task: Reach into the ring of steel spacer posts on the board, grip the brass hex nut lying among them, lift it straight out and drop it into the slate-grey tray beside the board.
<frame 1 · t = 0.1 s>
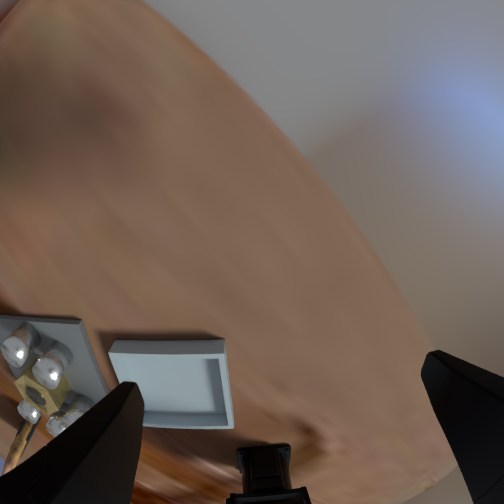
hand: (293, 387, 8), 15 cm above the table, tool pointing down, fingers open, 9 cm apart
spacer board: (52, 371, 25), on the table
ammunition clip: (31, 423, 28), on the table
spacer posts: (41, 386, 22), on the spacer board, point 3 cm above the table
brass nut: (49, 375, 24), point 1 cm above the table, touching spacer board
tray: (177, 382, 25), on the table
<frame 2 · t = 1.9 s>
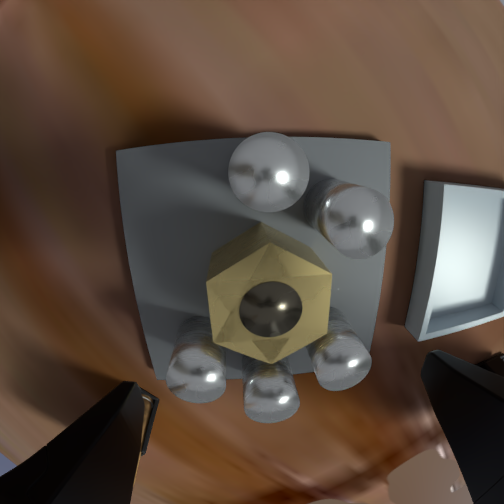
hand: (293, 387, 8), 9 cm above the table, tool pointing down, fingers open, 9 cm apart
spacer board: (261, 270, 16), on the table
ammunition clip: (120, 418, 20), on the table
spacer posts: (266, 293, 13), on the spacer board, point 3 cm above the table
brass nut: (262, 276, 15), point 1 cm above the table, touching spacer board
tray: (467, 254, 17), on the table
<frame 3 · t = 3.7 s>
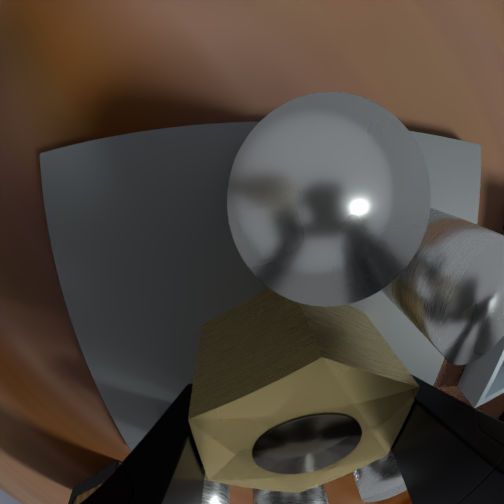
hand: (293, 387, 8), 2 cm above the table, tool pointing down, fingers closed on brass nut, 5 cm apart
spacer board: (281, 344, 10), on the table
ammunition clip: (102, 481, 13), on the table
spacer posts: (296, 402, 7), on the spacer board, point 3 cm above the table
brass nut: (285, 358, 9), point 1 cm above the table, touching gripper, spacer board
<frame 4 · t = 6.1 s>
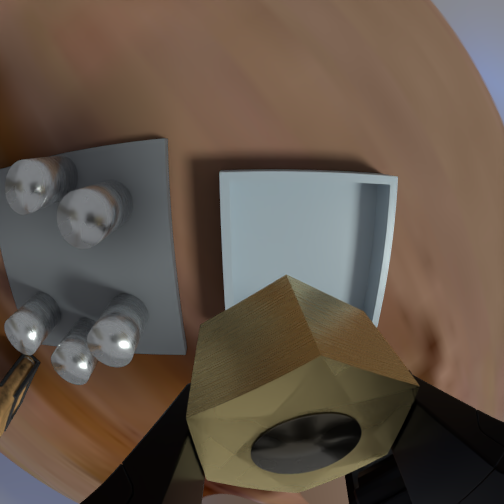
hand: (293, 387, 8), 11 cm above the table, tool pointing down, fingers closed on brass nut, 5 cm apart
spacer board: (77, 258, 17), on the table
ammunition clip: (23, 378, 21), on the table
spacer posts: (57, 274, 15), on the spacer board, point 3 cm above the table
brass nut: (284, 357, 9), point 10 cm above the table, touching gripper
tray: (304, 251, 18), on the table
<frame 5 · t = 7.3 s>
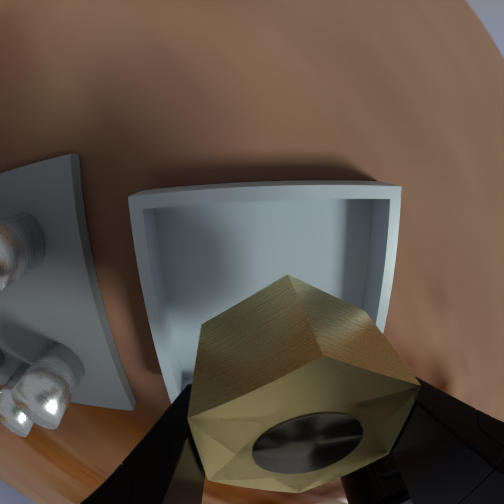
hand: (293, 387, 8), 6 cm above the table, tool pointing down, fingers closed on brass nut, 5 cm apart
spacer board: (9, 299, 12), on the table
brass nut: (285, 357, 9), point 5 cm above the table, touching gripper
tray: (268, 294, 13), on the table
when the fingers open (3 cm above the table, at t = 8.6 s): brass nut drops 1 cm, resting on tray.
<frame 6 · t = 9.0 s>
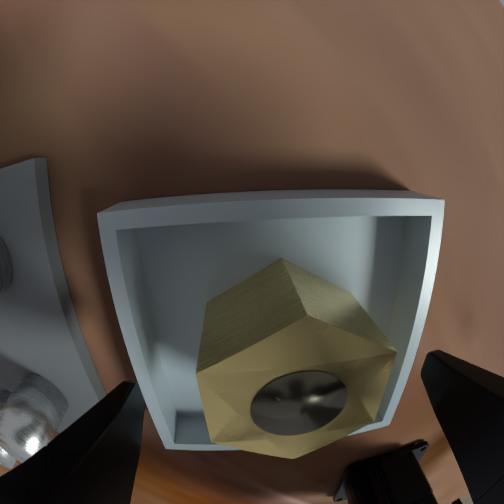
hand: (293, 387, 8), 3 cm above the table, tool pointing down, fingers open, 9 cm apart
brass nut: (280, 333, 10), resting on tray
tray: (277, 328, 11), on the table
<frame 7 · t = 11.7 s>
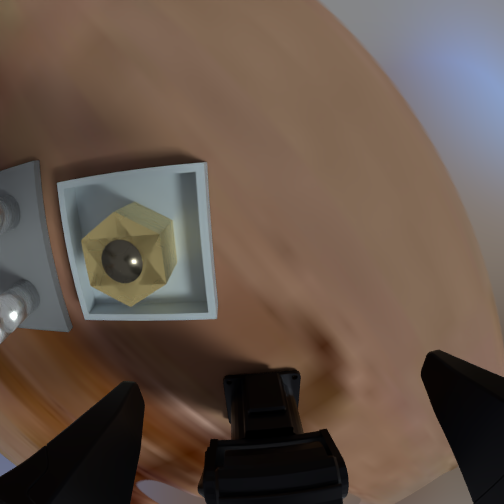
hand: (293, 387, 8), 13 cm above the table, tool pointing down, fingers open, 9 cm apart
brass nut: (139, 243, 19), resting on tray
tray: (140, 242, 19), on the table
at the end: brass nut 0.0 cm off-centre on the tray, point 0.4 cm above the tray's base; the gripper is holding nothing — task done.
